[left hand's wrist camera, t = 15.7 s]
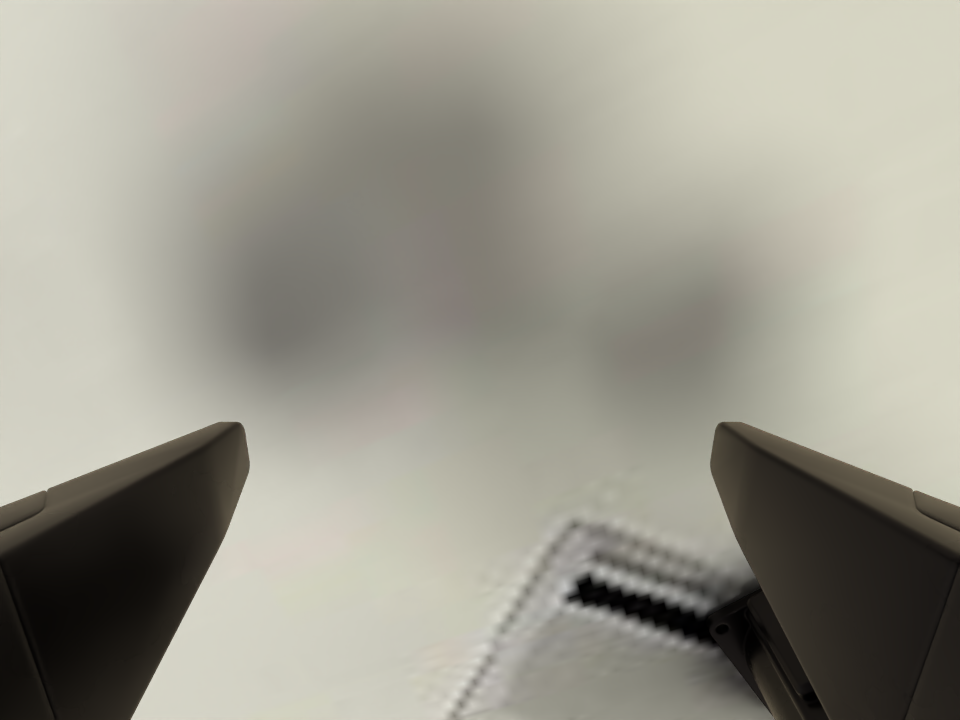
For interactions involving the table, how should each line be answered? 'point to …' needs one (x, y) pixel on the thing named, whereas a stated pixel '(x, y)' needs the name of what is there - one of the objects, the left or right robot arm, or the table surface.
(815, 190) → the table surface
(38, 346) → the table surface
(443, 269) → the table surface
